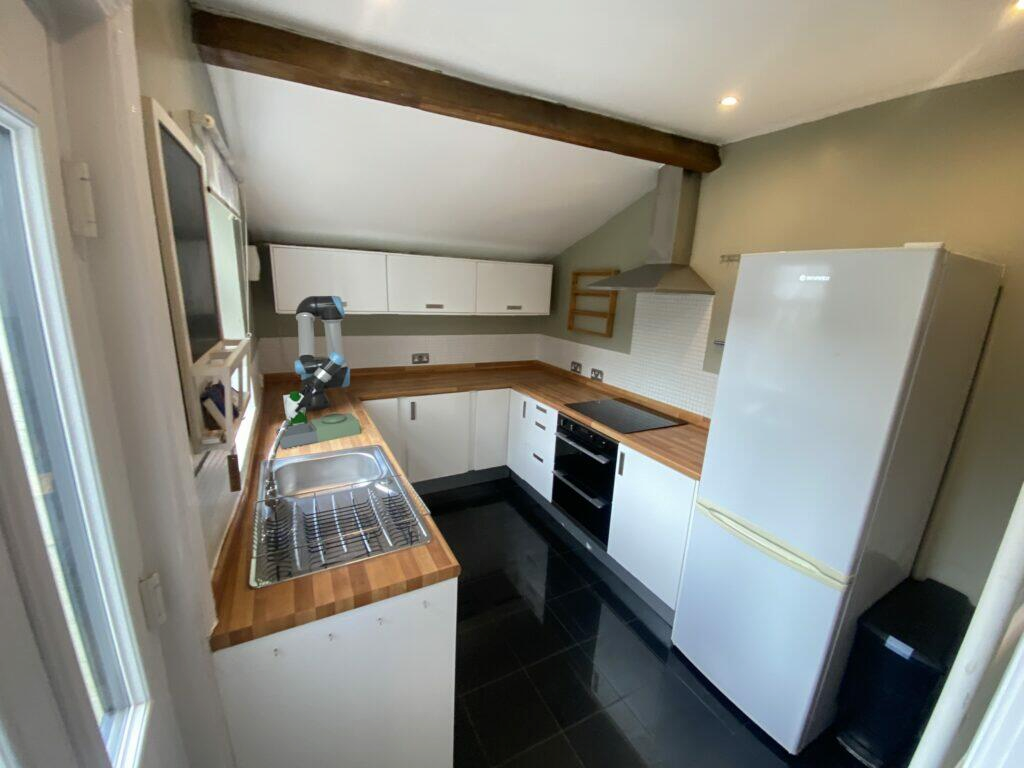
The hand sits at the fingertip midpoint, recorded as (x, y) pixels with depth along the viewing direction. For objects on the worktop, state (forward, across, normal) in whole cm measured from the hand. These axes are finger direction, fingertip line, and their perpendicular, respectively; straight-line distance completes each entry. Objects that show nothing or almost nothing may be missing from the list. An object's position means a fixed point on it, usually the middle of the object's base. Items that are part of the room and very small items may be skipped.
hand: (288, 414), depth 198 cm
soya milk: (+4, 0, -9) cm, 10 cm away
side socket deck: (0, -17, -13) cm, 21 cm away
